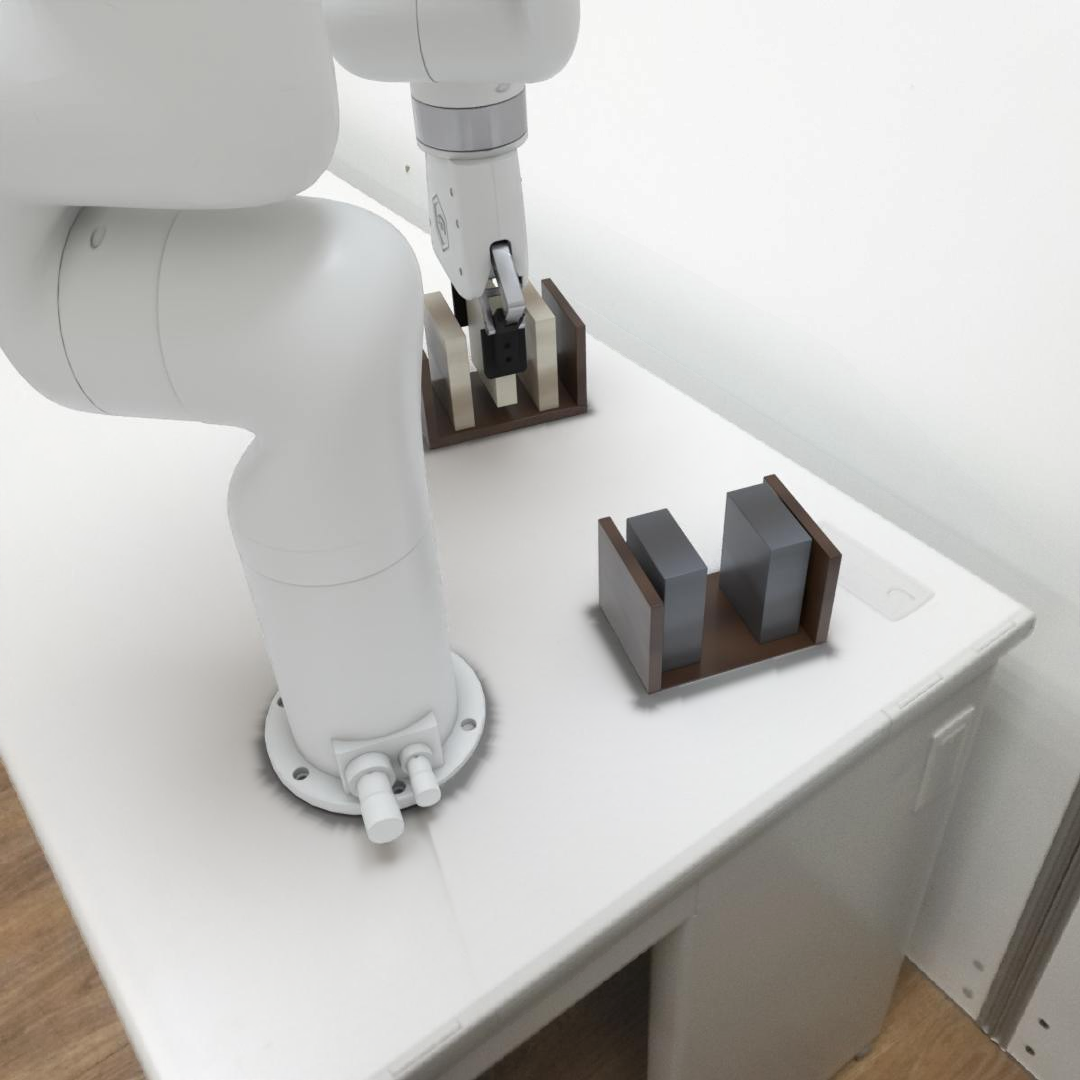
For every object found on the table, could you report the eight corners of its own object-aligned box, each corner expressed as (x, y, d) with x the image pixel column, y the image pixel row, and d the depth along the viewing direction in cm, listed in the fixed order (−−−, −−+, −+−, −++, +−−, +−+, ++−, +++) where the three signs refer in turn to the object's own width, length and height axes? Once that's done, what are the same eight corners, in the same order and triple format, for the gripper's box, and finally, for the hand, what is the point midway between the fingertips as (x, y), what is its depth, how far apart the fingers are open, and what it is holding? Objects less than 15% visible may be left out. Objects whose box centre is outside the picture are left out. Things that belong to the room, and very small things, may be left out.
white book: (517, 403, 85) (511, 310, 80) (497, 407, 85) (490, 314, 80) (490, 356, 90) (482, 266, 85) (471, 360, 90) (462, 270, 85)
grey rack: (825, 650, 67) (844, 546, 62) (648, 703, 65) (651, 599, 59) (763, 567, 73) (775, 465, 68) (598, 612, 71) (597, 510, 65)
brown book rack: (587, 412, 87) (585, 313, 82) (429, 449, 85) (416, 349, 79) (553, 361, 93) (549, 265, 87) (405, 395, 90) (390, 297, 84)
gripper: (385, 83, 79) (415, 304, 91) (450, 176, 67) (475, 419, 78) (486, 67, 81) (502, 286, 93) (568, 154, 68) (575, 395, 80)
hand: (490, 345), depth 85 cm, fingers closed on white book, 7 cm apart
